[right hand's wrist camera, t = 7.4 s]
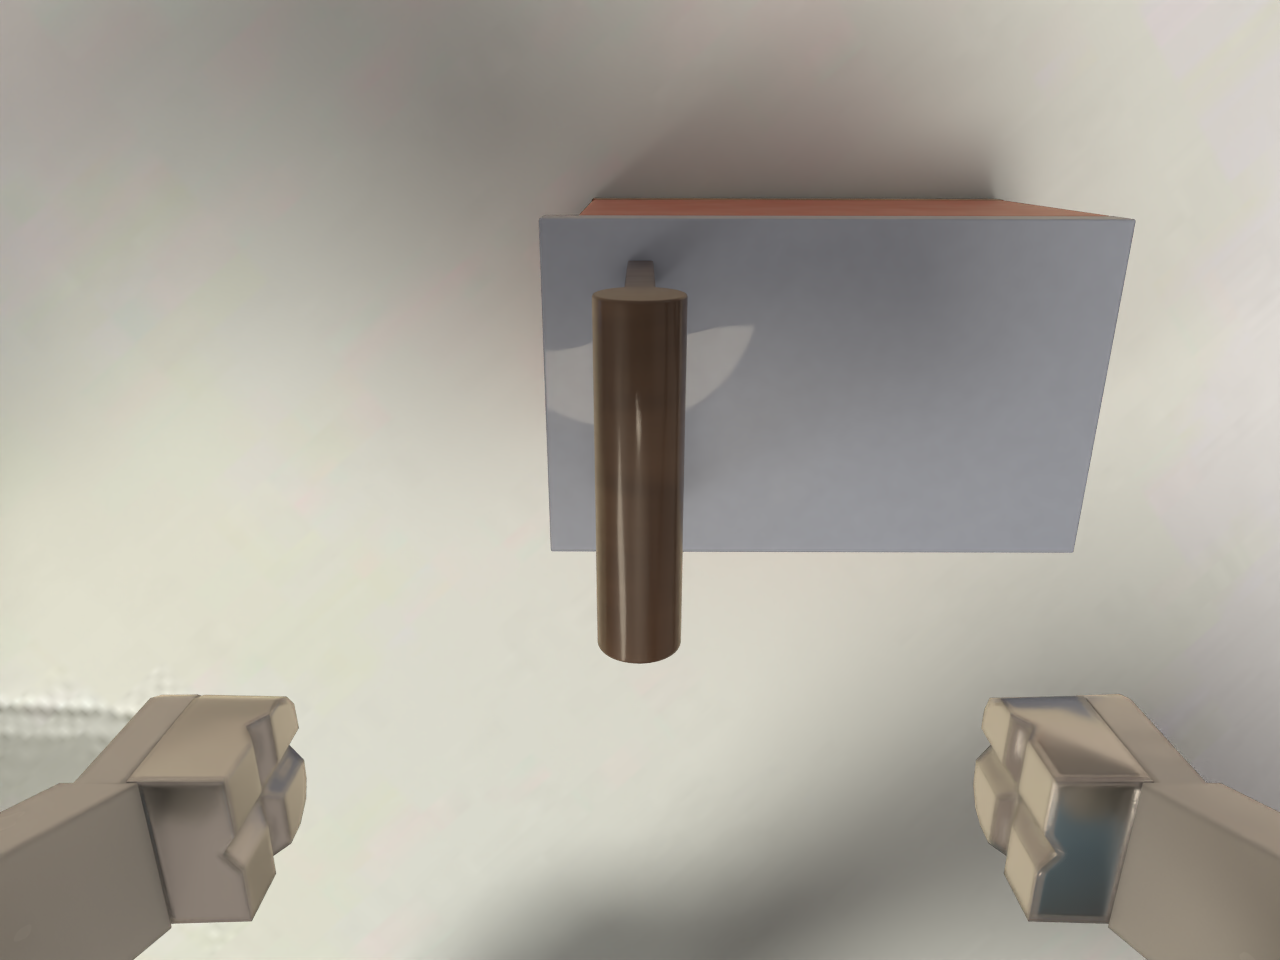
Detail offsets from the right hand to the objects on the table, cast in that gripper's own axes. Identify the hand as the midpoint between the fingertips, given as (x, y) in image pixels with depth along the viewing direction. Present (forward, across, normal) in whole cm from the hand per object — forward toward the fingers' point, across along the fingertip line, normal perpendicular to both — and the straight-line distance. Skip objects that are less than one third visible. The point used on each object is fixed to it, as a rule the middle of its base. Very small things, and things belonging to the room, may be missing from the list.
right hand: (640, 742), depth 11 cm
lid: (+17, +5, 0) cm, 18 cm away
